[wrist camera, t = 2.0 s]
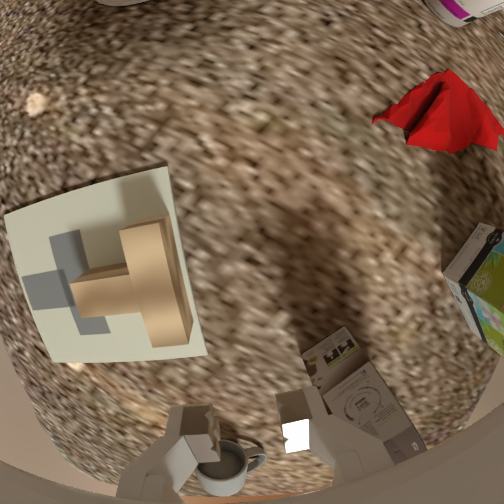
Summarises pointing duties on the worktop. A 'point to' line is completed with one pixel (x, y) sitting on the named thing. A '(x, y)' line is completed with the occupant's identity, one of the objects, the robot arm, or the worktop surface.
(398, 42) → the worktop surface
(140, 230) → the maple T block
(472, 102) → the cloth
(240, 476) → the ceramic mug
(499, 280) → the tea box
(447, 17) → the supplement can
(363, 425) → the coffee box
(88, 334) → the sage board
